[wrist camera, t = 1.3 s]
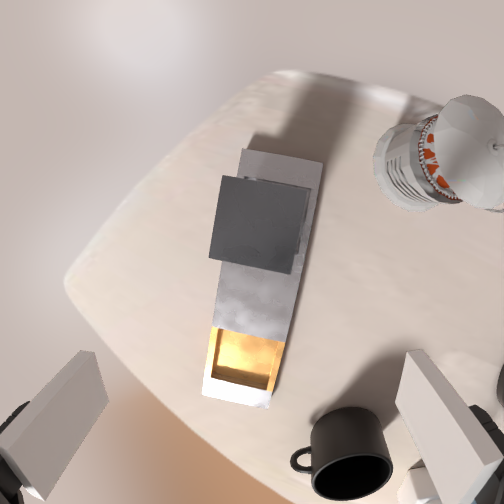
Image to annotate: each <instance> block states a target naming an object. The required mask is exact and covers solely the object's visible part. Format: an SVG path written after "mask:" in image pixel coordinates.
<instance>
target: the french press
mask: <svg viewBox="0 0 504 504" xmlns="http://www.w3.org/2000/svg"><path fill="white" fill-rule="evenodd" d="M426 120H430V121H429V122H423V121H426ZM423 121H421V122H422V123H425V124H426V125H420V124H421V123H420V122H419V123H417V124H404V123H403V124H401V125H398V126H395V127H393V128H390V129H389V130H388V131H387V132H386V133H385V134H384V135H383V136H382V137H381V138H380V139H379V141H378V144H377V147H376V150H375V153H374V156H373V161H374V175H375V177H376V180H377V182H378V184H379V187H380V189H381V191H382V193H383V194H384V195H385V196H386V197H387V198H388V199H389V200H390V201H391V202H392V203H393V204H394V205H396V206H398V207H400V208H402V209H405V210H407V211H409V212H425V211H427V210H429V209H431V208H433V207H435V206H437V205H438V204H455V203H460V202H462V201H465V202H466V203H468V204H470V205H471V206H473V207H475V208H482V209H485V210H487V211H490V212H495V213H503V212H504V209H502V210H494V209H493V208H494V207H496V206H498V205H500V204H501V203H503V202H504V116H503V115H502V113H501V112H500V111H499V110H498V109H497V108H496V107H495V106H493V105H492V104H490V103H489V102H488V101H486V100H485V99H483V98H480V97H475V96H471V95H463V96H460V97H457V98H454V99H451V100H450V101H449V102H448V103H447V105H446V106H445V107H444V108H443V109H442V110H441V111H440V113H439V115H438V114H436V115H433V116H431V117H428V118H426V119H424V120H423ZM422 126H425V127H422Z"/></svg>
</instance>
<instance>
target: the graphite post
mask: <svg viewBox="0 0 504 504" xmlns="http://www.w3.org/2000/svg"><path fill="white" fill-rule="evenodd" d="M306 196H307V190H302V189H297V188H292V187H287V186H282V185H277V184H271V183H266V182H260V181H254V180H249V179H243V178H237V177H231V176H224V175H223V176H222V181H221V187H220V192H219V198H218V204H217V210H216V215H215V221H214V227H213V233H212V240H211V246H210V252H209V258H212V259H216V260H221V261H226V262H231V263H235V264H240V265H245V266H250V267H255V268H260V269H264V270H269V271H274V272H279V273H284V274H289V275H291V271H292V266H293V261H294V256H295V252H296V247H297V242H298V237H299V232H300V227H301V222H302V217H303V212H304V206H305V201H306Z"/></svg>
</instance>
